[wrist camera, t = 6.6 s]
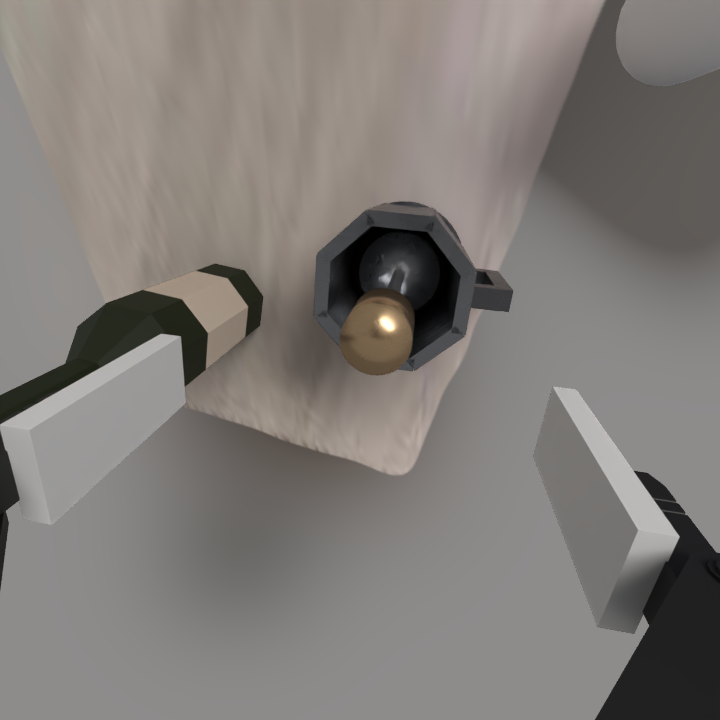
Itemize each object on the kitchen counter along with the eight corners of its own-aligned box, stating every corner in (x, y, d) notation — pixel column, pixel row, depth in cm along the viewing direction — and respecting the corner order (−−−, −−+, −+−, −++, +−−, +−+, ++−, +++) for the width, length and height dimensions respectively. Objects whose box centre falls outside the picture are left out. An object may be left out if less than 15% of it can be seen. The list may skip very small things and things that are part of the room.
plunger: (364, 227, 38) (309, 262, 21) (445, 235, 38) (459, 279, 20) (357, 306, 41) (303, 395, 23) (433, 315, 40) (436, 414, 23)
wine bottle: (210, 246, 45) (-136, 342, 18) (278, 293, 46) (50, 456, 18) (177, 311, 48) (-159, 478, 21) (242, 354, 49) (1, 570, 21)
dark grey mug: (348, 195, 41) (314, 199, 29) (505, 210, 40) (537, 221, 28) (339, 314, 46) (307, 360, 34) (480, 332, 44) (499, 386, 32)
